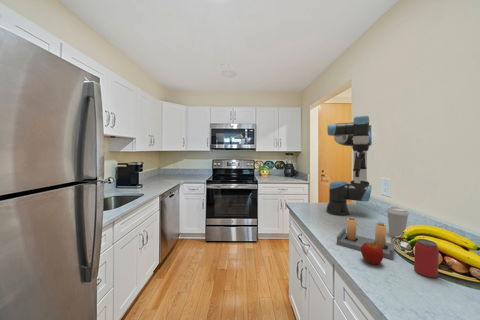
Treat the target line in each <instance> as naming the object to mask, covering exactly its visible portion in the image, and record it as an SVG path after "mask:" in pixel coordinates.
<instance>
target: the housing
mask: <svg viewBox="0 0 480 320" xmlns="http://www.w3.org/2000/svg"><path fill="white" fill-rule="evenodd" d="M374 230H375V233H374V234H375V235H374V236H375V238H370V237H366V236H361V235H357V234H356V242H353V241H349V240H347V228H343V229H342V230H341V231H340V232H339V233H338V235H336V245H337V246H340V247H345V248H349V249H353V250H356V251H360V252H361V247H362V245H363V244H364V243H373V244H376V245H378V246H379V247H380V248H381V249H382V251H383V254H384V257H383V259H388V260H391V261H393V260H394V254H395V249H394V246H395V245H396V240H394V239H392V240H391V243H390V242H387V225H386V224H385V223H384V222H380V221H378V222H377V223H375V229H374Z"/></svg>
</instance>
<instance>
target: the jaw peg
mask: <svg viewBox="0 0 480 320" xmlns="http://www.w3.org/2000/svg"><path fill="white" fill-rule="evenodd" d="M346 233H347V239H346V240H349V241H353V242H356V235H357V219H356V218H355V217H353V216H348V217H347V219H346Z"/></svg>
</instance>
